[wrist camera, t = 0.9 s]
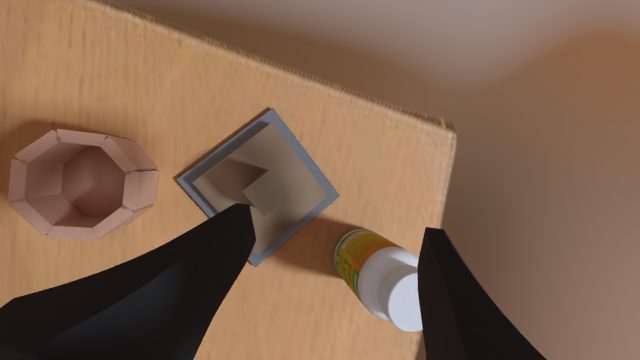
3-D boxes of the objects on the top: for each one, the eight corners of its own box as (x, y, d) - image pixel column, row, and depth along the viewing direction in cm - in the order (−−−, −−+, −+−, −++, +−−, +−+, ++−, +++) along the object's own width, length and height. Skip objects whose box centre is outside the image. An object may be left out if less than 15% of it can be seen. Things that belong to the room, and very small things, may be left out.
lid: (256, 251, 24) (257, 271, 20) (194, 181, 23) (181, 185, 18) (325, 194, 26) (340, 200, 21) (271, 124, 24) (275, 115, 20)
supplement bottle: (323, 247, 26) (362, 293, 17) (369, 217, 27) (431, 245, 18) (348, 292, 27) (400, 360, 18) (392, 261, 28) (463, 311, 19)
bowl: (102, 243, 22) (69, 260, 18) (31, 174, 20) (-21, 177, 17) (176, 188, 23) (160, 192, 19) (114, 119, 22) (83, 109, 18)
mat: (255, 265, 25) (255, 267, 24) (177, 179, 23) (176, 179, 22) (338, 195, 26) (340, 195, 26) (272, 108, 24) (272, 107, 24)
